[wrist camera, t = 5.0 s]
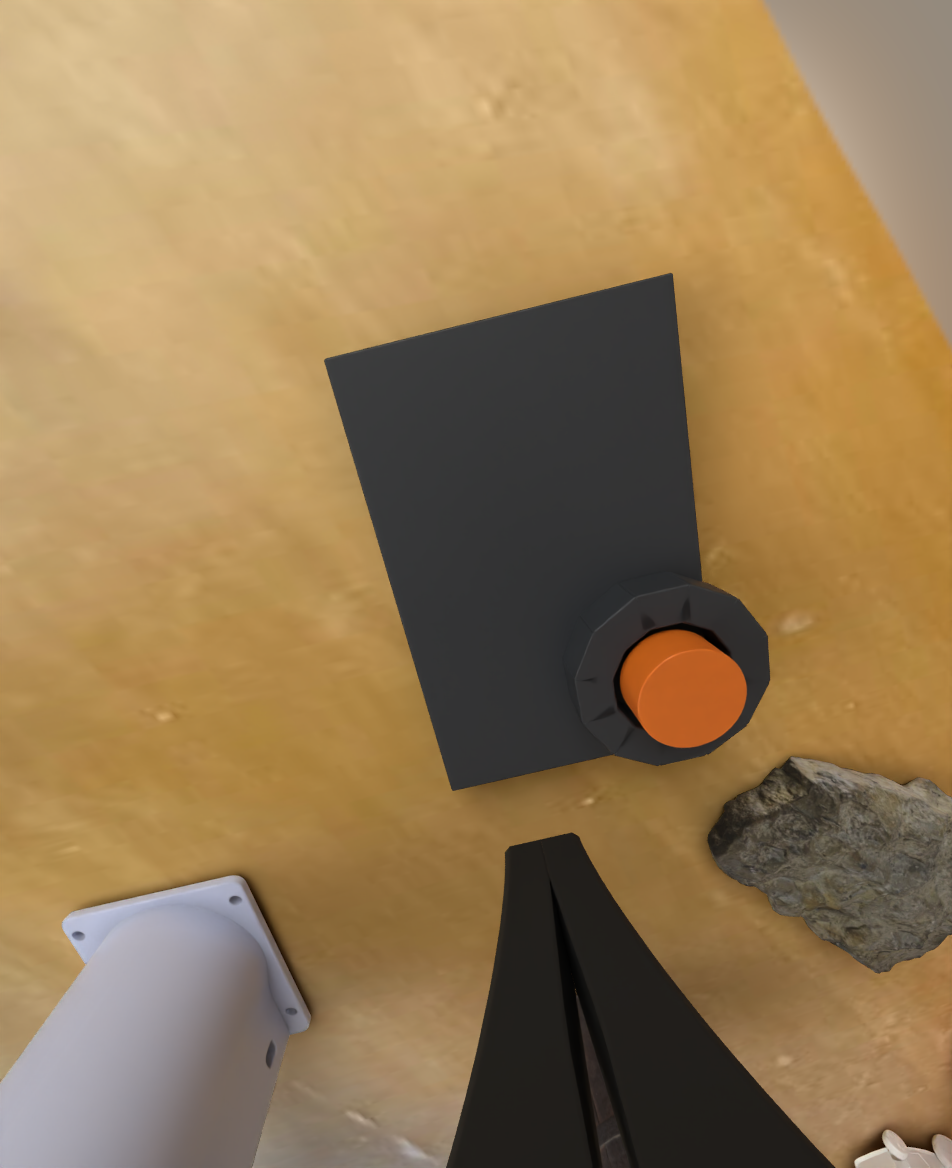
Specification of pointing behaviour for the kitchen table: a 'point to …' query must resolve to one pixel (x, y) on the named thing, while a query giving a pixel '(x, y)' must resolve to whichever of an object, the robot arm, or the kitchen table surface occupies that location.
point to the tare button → (682, 688)
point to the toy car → (908, 1154)
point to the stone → (846, 857)
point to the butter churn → (602, 1107)
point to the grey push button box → (539, 524)
